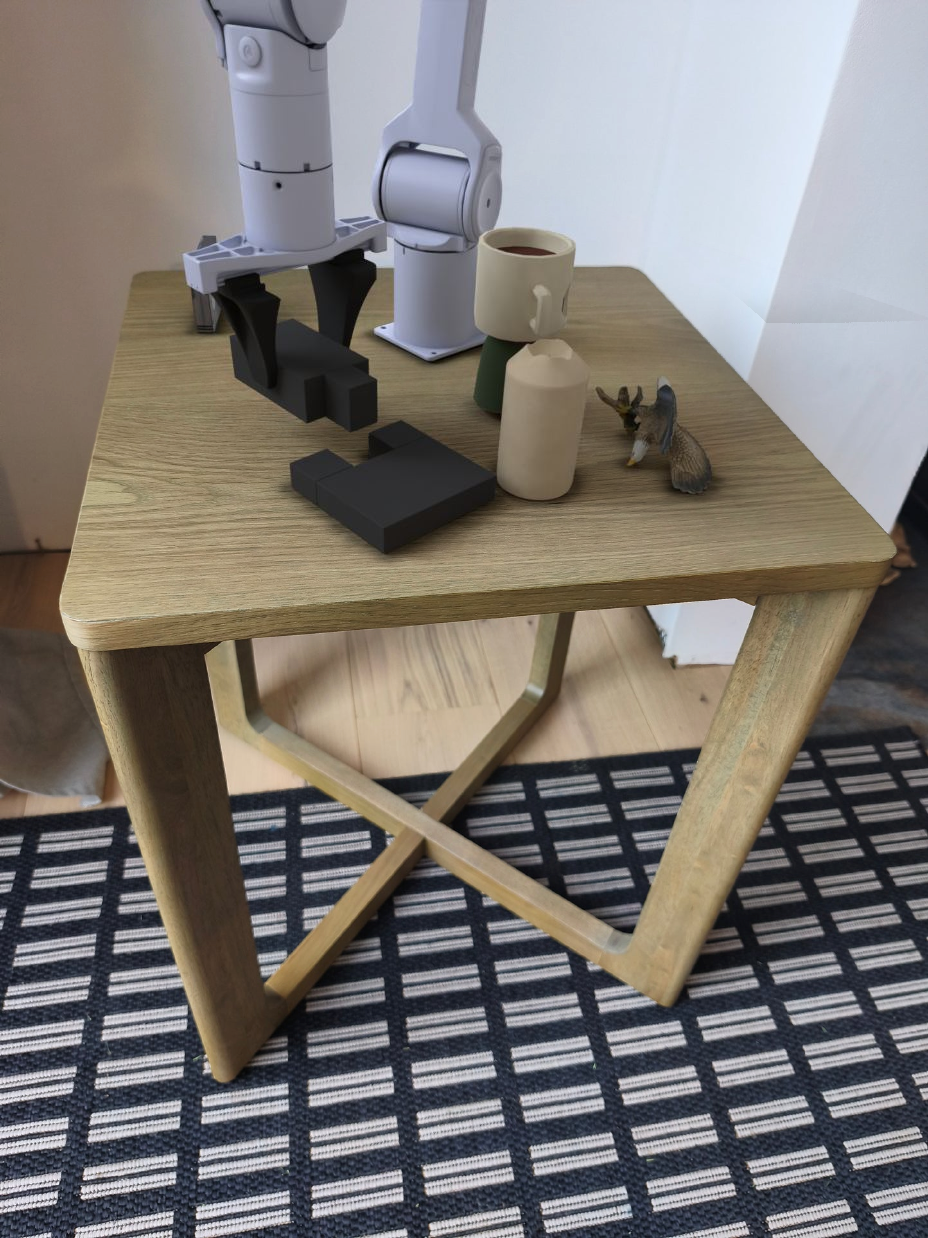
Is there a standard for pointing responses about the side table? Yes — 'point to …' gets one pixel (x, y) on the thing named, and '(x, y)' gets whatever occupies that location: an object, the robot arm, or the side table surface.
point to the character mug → (517, 299)
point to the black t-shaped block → (315, 378)
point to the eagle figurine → (663, 435)
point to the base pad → (394, 486)
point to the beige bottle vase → (541, 420)
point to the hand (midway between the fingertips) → (301, 371)
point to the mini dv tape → (205, 299)
